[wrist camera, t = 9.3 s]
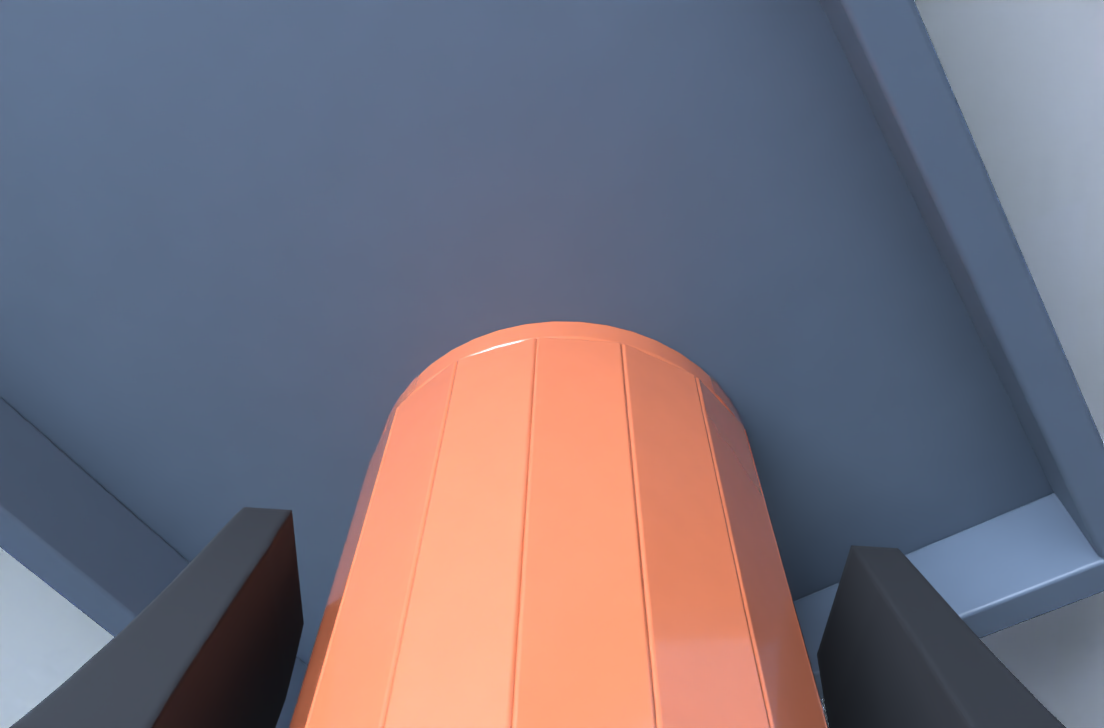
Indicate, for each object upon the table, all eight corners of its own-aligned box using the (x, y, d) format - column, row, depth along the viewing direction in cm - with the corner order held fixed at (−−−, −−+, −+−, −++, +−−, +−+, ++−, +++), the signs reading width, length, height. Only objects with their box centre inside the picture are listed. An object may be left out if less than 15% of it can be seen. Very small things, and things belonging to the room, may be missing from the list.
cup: (786, 333, 12) (983, 825, 6) (719, 625, 15) (813, 1150, 9) (370, 305, 12) (180, 782, 6) (382, 604, 15) (260, 1122, 9)
